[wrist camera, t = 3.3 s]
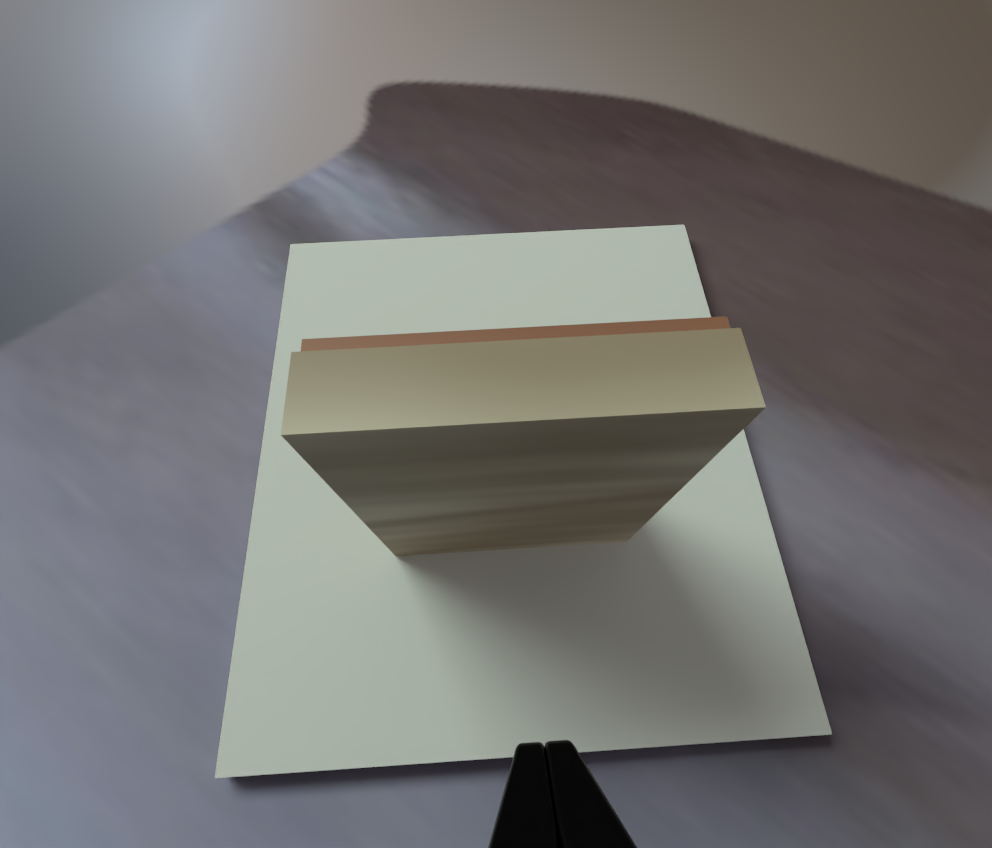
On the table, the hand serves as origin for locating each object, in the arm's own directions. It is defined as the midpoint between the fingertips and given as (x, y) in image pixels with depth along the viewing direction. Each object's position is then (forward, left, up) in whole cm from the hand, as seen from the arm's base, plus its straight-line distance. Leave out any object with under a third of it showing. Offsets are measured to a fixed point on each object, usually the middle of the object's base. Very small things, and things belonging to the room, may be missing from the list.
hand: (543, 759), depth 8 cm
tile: (+4, +3, -6) cm, 8 cm away
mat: (+7, +5, -7) cm, 11 cm away
